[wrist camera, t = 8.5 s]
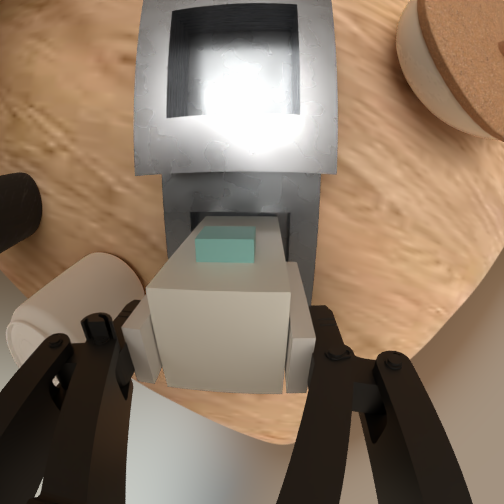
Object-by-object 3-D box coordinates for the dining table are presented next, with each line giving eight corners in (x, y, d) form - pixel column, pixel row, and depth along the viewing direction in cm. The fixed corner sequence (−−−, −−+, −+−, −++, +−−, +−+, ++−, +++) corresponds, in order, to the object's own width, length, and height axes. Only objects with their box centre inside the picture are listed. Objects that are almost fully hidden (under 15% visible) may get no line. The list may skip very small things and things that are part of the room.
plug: (209, 280, 21) (167, 386, 11) (205, 202, 19) (141, 261, 9) (275, 282, 21) (281, 394, 11) (277, 202, 19) (292, 264, 9)
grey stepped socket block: (189, 304, 25) (162, 362, 17) (182, 28, 17) (146, -18, 9) (301, 307, 24) (314, 369, 17) (308, 24, 16) (327, -28, 9)
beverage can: (83, 236, 23) (-6, 294, 12) (156, 270, 24) (87, 357, 13) (76, 303, 26) (11, 371, 15) (140, 335, 27) (90, 423, 15)
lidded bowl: (428, 165, 20) (521, 185, 9) (342, 38, 16) (395, -31, 6) (499, 108, 16) (578, 109, 6) (431, 0, 13) (493, -42, 3)
